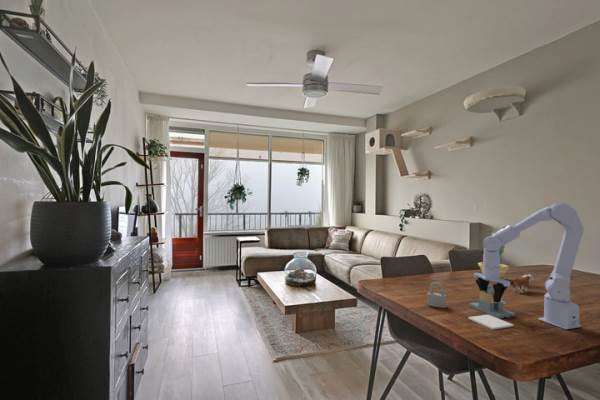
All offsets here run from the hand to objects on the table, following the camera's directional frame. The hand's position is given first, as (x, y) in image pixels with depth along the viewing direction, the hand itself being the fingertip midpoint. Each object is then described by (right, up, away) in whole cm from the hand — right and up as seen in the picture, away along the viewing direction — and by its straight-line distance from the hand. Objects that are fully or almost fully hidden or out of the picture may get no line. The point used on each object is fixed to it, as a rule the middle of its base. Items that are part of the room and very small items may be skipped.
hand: (490, 299), depth 123 cm
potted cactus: (+35, -6, +54) cm, 64 cm away
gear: (+9, -5, +15) cm, 18 cm away
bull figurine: (+34, -6, +29) cm, 46 cm away
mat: (-8, -4, -12) cm, 15 cm away
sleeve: (0, 0, 0) cm, 0 cm away
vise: (+2, -5, +1) cm, 5 cm away
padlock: (-20, -5, +5) cm, 21 cm away
